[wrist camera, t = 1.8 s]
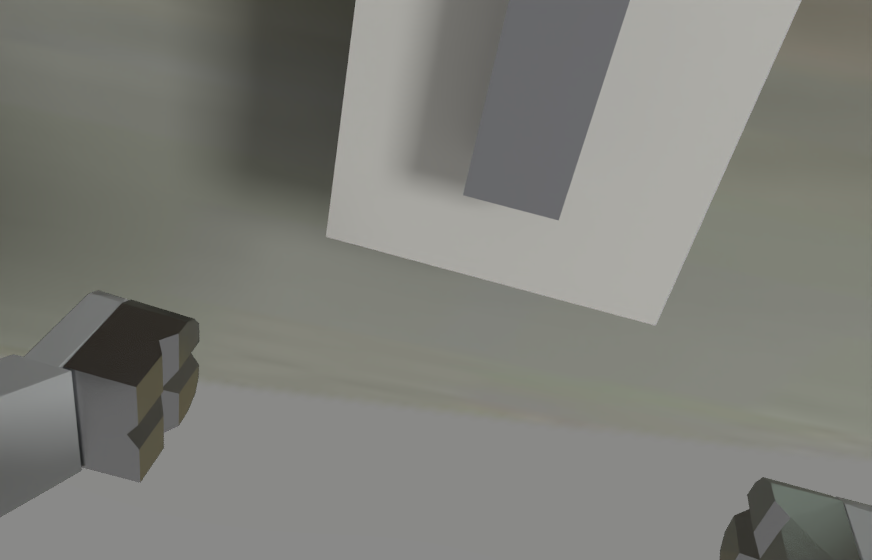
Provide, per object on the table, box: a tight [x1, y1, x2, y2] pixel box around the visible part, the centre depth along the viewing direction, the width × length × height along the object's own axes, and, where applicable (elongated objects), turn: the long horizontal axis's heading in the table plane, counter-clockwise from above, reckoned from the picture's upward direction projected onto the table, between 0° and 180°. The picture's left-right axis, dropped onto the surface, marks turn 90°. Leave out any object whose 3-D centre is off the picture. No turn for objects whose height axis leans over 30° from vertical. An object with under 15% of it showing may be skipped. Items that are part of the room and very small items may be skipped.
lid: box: [326, 0, 801, 326], centre depth 24 cm, size 17×13×5 cm
